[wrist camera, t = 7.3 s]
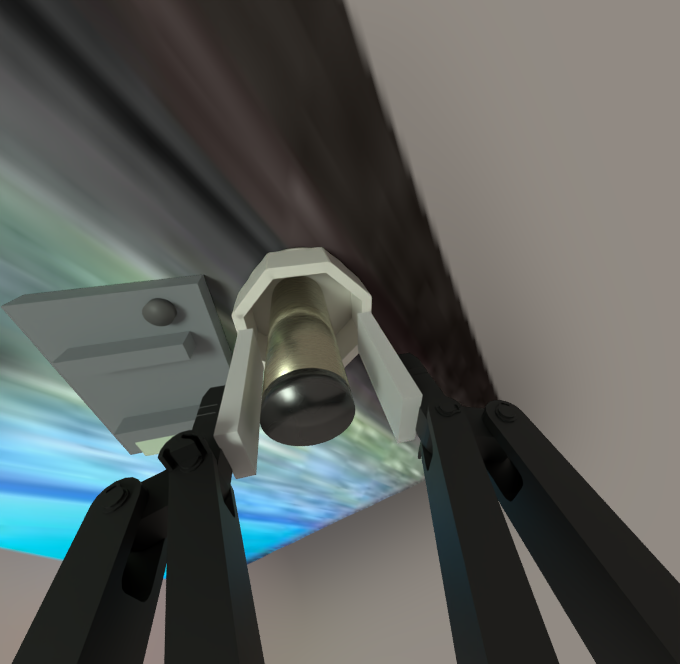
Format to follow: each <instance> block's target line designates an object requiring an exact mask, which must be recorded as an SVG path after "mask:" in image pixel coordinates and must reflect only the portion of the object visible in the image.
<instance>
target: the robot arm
mask: <svg viewBox="0 0 680 664" xmlns="http://www.w3.org/2000/svg"><path fill="white" fill-rule="evenodd" d="M357 316H358V352H359V355H360V357H361V359H362V361H363V364H364V366H365V368H366V371H367V373H368V375H369V378H370V380H371V382H372V385H373V387H374V389H375V392H376V394H377V396H378V399H379V401H380V403H381V406H382V408H383V410H384V413H385V415H386V417H387V420H388V422H389V424H390V427H391V429H392V431H393V434H394V436H395V438H396V441H397V443H401V442H406V441H410V440H415V434H416V432H417V434H418V436H419V438H420V440H421V442H420V447H419V451H418V459H421V457H422V463H423V469H424V474H425V480H426V485H427V492H428V498H429V503H430V509H431V515H432V520H433V527H434V532H435V538H436V544H437V550H438V556H439V561H440V567H441V573H442V579H443V584H444V590H445V596H446V601H447V607H448V613H449V619H450V625H451V631H452V637H453V643H454V648H455V654H456V660H457V664H559V662H558V659H557V656H556V654H555V651H554V648H553V646H552V643H551V640H550V638H549V635H548V632H547V630H546V627H545V624H544V622H543V619H542V616H541V614H540V611H539V608H538V606H537V603H536V600H535V598H534V595H533V592H532V590H531V587H530V585H529V582H528V579H527V576H526V574H525V571H524V568H523V566H522V563H521V560H520V558H519V555H518V552H517V550H516V547H515V545H514V542H513V539H512V536H511V534H510V531H509V528H508V526H507V523H506V520H505V518H504V515H503V512H502V510H501V507H500V504H501V506H502V507H503V509H504V511H505V512H506V514H507V516H508V517H509V519H510V521H511V522H512V524H513V526H514V527H515V529H516V531H517V532H518V534H519V536H520V537H521V539H522V541H523V542H524V544H525V546H526V547H527V549H528V551H529V552H530V554H531V556H532V557H533V559H534V561H535V562H536V564H537V566H538V567H539V569H540V571H541V572H542V574H543V576H544V577H545V579H546V580H547V582H548V584H549V586H550V587H551V589H552V591H553V592H554V594H555V595H556V597H557V599H558V600H559V602H560V604H561V606H562V607H563V609H564V611H565V612H566V614H567V616H568V617H569V619H570V620H571V622H572V624H573V625H574V627H575V629H576V630H577V632H578V634H579V635H580V637H581V639H582V640H583V642H584V644H585V645H586V647H587V649H588V650H589V652H590V654H591V655H592V657H593V659H594V660H595V662H596V664H680V583H679V582H678V581H677V580H676V579H675V578H674V577H673V576H672V575H671V574H670V573H669V571H668V570H667V569H666V568H665V567H664V566H663V565H662V564H661V563H660V562H659V560H657V558H656V557H655V556H654V555H653V554H652V553H651V552H650V551H649V549H648V548H647V547H646V546H645V545H644V544H643V543H642V542H641V541H640V540H639V539H638V537H637V536H636V535H635V534H634V533H633V532H632V531H631V530H630V529H629V528H628V527H627V525H626V524H625V523H624V522H623V521H622V520H621V519H620V518H619V517H618V516H617V515H616V514H615V512H614V511H613V510H612V509H611V508H610V507H609V506H608V505H607V504H606V502H604V500H603V499H602V498H601V497H600V496H599V495H598V494H597V493H596V492H595V490H594V489H593V488H592V487H591V486H590V485H589V484H588V483H587V482H586V481H585V480H584V478H583V477H582V476H581V475H580V474H579V473H578V472H577V471H576V470H575V469H574V468H573V466H572V465H571V464H570V463H569V462H568V461H567V460H566V459H565V458H564V457H563V455H562V454H561V453H560V452H559V451H558V450H557V449H556V448H555V447H554V446H553V445H552V443H551V442H550V441H549V440H548V439H547V438H546V437H545V436H544V435H543V434H542V433H541V431H539V429H538V428H537V427H536V426H535V425H534V424H533V423H532V422H531V421H530V419H529V418H528V417H527V416H526V415H525V414H524V413H523V412H522V411H521V410H520V409H519V408H518V407H516V406H515V405H513V404H511V403H509V402H506V401H502V400H493V401H491V402H489V403H488V404H487V405H486V407H485V409H484V408H471V407H464V406H461V404H459V403H458V402H457V401H456V400H454V399H452V398H449V397H446V396H445V395H444V394H443V392H442V391H441V389H440V388H439V387H438V385H437V384H436V383H435V381H434V380H433V378H432V377H431V376H430V374H429V373H428V372H427V370H426V369H425V367H423V365H422V363H421V362H420V360H419V359H418V358H417V357H415V356H414V355H412V354H411V353H406V354H400V355H397V353H396V352H395V350H394V349H393V347H392V345H391V344H390V342H389V341H388V339H387V337H386V336H385V334H384V333H383V331H382V330H381V328H380V326H379V325H378V323H377V322H376V320H375V318H374V317H373V315H372V314H371V312H363V313H357ZM263 371H264V365H263V362H262V358H261V355H260V351H259V348H258V344H257V341H256V337H255V333H254V330H253V328H252V329H245V330H239V331H238V335H237V339H236V344H235V348H234V352H233V356H232V360H231V365H230V369H229V373H228V377H227V381H226V385H223V386H217V387H211V388H210V389H209V390H208V391H207V392H206V393H205V395H204V396H203V397H202V400H201V403H200V406H199V409H198V412H197V417H196V419H195V422H194V425H193V428H192V430H187V431H183V432H180V433H179V434H177V435H175V436H173V437H172V438H171V439H169V440H168V441H167V442H166V443H165V444H164V446H163V447H162V448H161V450H160V452H159V455H158V459H159V460H160V461H161V463H162V464H163V465H164V467H165V468H166V470H165V471H163V472H161V473H159V474H157V475H155V476H153V477H151V478H148V479H146V480H144V481H142V482H140V481H139V480H138V479H136V478H133V477H130V478H124V479H121V480H118V481H116V482H114V483H113V484H111V485H110V486H108V487H107V488H105V489H104V490H103V491H102V492H101V493H100V494H99V495H98V496H97V497H96V499H95V500H94V502H93V503H92V505H91V506H90V508H89V510H88V512H87V514H86V516H85V518H84V520H83V522H82V524H81V526H80V528H79V530H78V532H77V534H76V536H75V538H74V540H73V542H72V544H71V546H70V548H69V550H68V552H67V554H66V556H65V558H64V560H63V562H62V564H61V566H60V568H59V570H58V572H57V574H56V576H55V578H54V580H53V582H52V584H51V586H50V588H49V590H48V592H47V594H46V596H45V598H44V600H43V602H42V604H41V606H40V608H39V610H38V612H37V614H36V616H35V618H34V620H33V622H32V624H31V626H30V628H29V630H28V632H27V634H26V636H25V638H24V640H23V642H22V644H21V646H20V648H19V650H18V652H17V654H16V656H15V658H14V660H13V662H12V664H143V661H144V657H145V653H146V648H147V644H148V640H149V635H150V631H151V627H152V622H153V619H154V614H155V610H156V606H157V602H158V597H159V593H160V589H161V585H162V580H163V576H164V572H165V568H166V563H167V573H166V615H165V616H166V617H165V657H164V664H265V663H264V657H263V652H262V646H261V640H260V635H259V630H258V624H257V618H256V613H255V607H254V602H253V596H252V590H251V585H250V580H249V574H248V568H247V563H246V557H245V552H244V546H243V540H242V535H241V529H240V524H239V518H238V513H237V507H236V502H235V496H234V491H233V488H232V486H231V477H232V472H233V474H234V476H235V478H236V479H239V478H243V477H248V476H252V475H256V469H257V455H258V441H259V427H260V412H261V399H262V385H263ZM498 501H499V502H500V504H499V502H498Z"/></svg>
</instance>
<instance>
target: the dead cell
mask: <svg viewBox="0 0 680 664" xmlns="http://www.w3.org/2000/svg"><path fill="white" fill-rule="evenodd" d="M354 415H355V405H354V401H353V397H352V394H351V390H350V387H349V383H348V380H347V376H346V373H345V369H344V365H343V362H342V358H341V355H340V351H339V348H338V344H337V341H336V337H335V334H334V330H333V326H332V323H331V319H330V316H329V312H328V309H327V305H326V302H325V298H324V295H323V291H322V289H321V287H320V286H319V285H318V283H317V282H315V281H314V280H313V279H311V278H309V277H306V276H294V277H287V278H284V279H283V280H281V281H280V282H279V283H278V284H277V285H276V286H275V288H274V290H273V293H272V299H271V309H270V319H269V330H268V340H267V350H266V361H265V371H264V381H263V392H262V402H261V412H260V424H261V427H262V429H263V431H264V432H265V434H266V435H268V436H269V437H270V438H271V439H273V440H275V441H277V442H279V443H282V444H286V445H291V446H310V445H316V444H320V443H323V442H326V441H328V440H331V439H333V438H335V437H336V436H338V435H340V434H341V433H342V432H344V431H345V430H346V429H347V428H348V426H349V425H350V424H351V422H352V421H353V418H354Z"/></svg>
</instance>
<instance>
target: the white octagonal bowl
mask: <svg viewBox="0 0 680 664" xmlns="http://www.w3.org/2000/svg"><path fill="white" fill-rule="evenodd" d="M294 276H306V277H309V278H311V279H313V280H314V281H315V282H317V283H318V285H319V286H320V287H321V289H322V291H323V295H324V298H325V302H326V305H327V309H328V312H329V316H330V319H331V323H332V326H333V330H334V334H335V337H336V341H337V344H338V348H339V351H340V355H341V358H342V362H343V365H344V367H345V366H346V365H347V364H348V363H350V362H351V361H352V360H353V359H354V358H355V357H356V356H357V355H358V354H359V352H358V316H357V313H363V312H371V303H372V297H371V295H370V293H369V292H368V291H367V289H366V288H365V286H364V285H363V284H362V282H361V281H360V279H359V278H358V277H357V276H356V275H355V274H353V273H352V272H351V271H350V270H349V269H347V268H346V267H345V265H344V264H343V263H342V262H340V261H339V260H338V259H337V258H335V257H334V256H332V255H331V254H330V253H329V252H327V251H326V250H325V249H324V248H322V247H318V248H308V247H294V248H288V249H284V250H281V251H278V252H270V253H269V254H268V253H267V255H266V256H265V257H264V259H263V260H262V261H261V263H260V264H258V266H257V267H256V268H255V269H254V270H253V272H252V273H251V275H250V277H249V279H248V281H247V282H246V283H245V285H244V286H243V287H242V289H241V290H240V291H239V293H238V296H237V299H236V303H235V306H234V309H233V312H232V319H233V322H234V325H235V328H236V331H237V334H238V331H239V330H245V329H252V328H253V330H254V333H255V337H256V341H257V344H258V348H259V351H260V355H261V358H262V362H263V365H264V370H265V361H266V350H267V340H268V330H269V319H270V309H271V299H272V293H273V290H274V288H275V286H276V285H277V284H278V283H279V282H280V281H281V280H283V279H284V278H287V277H294Z"/></svg>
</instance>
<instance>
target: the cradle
mask: <svg viewBox="0 0 680 664" xmlns="http://www.w3.org/2000/svg"><path fill="white" fill-rule="evenodd" d="M1 307H2V309H3V310H4V311H5V312H6V313H7V314H8V315H9V317H10V318H11V319H12V320H13V321H14V322H15V323H16V325H17V326H18V327H19V328H20V329H21V330H22V331H23V333H24V334H25V335H26V336H27V337H28V338H29V339H30V341H31V342H32V343H33V344H34V345H35V346H36V347H37V349H38V350H39V351H40V352H41V353H42V354H43V355H44V357H45V358H46V359H47V360H48V361H49V362H50V363H51V365H52V366H53V367H54V368H55V369H56V370H57V371H58V373H59V374H60V375H61V376H62V377H63V378H64V379H65V380H66V382H67V383H68V384H69V385H70V386H71V387H72V388H73V390H74V391H75V392H76V393H77V394H78V395H79V396H80V398H81V399H82V400H83V401H84V402H85V403H86V404H87V406H88V407H89V408H90V409H91V410H92V411H93V412H94V414H95V415H96V416H97V417H98V418H99V419H100V420H101V422H102V423H103V424H104V425H105V426H106V427H107V428H108V430H109V431H110V432H111V433H112V434H113V435H114V436H115V438H116V439H117V440H118V441H119V442H120V443H121V444H122V445H123V447H124V448H125V449H126V450H127V451H128V452H129V453H130V455H132V454H137V453H142V452H143V453H144V455H145V456H149V455H154V454H159V452H160V450H161V448H162V447H163V446H164V444H165V443H166V442H167V441H168V440H169V439H171V438H172V437H173V436H175V435H177V434H179V433H180V432H183V431H187V430H192V428H193V425H194V422H195V419H196V417H197V412H198V409H199V406H200V403H201V400H202V397H203V396H204V395H205V393H206V392H207V391H208V390H209V389H210V388H211V387H217V386H223V385H226V381H227V377H228V373H229V369H230V365H231V360H232V353H231V351H230V348H229V345H228V342H227V340H226V337H225V334H224V331H223V328H222V326H221V323H220V320H219V317H218V314H217V312H216V309H215V306H214V303H213V300H212V298H211V295H210V292H209V289H208V287H207V284H206V281H205V278H204V275H195V276H186V277H177V278H168V279H160V280H151V281H142V282H133V283H124V284H115V285H106V286H98V287H89V288H80V289H71V290H62V291H53V292H45V293H36V294H27V295H22V296H20V297H18V298H16V299H14V300H12V301H10V302H8V303H6V304H4V305H2V306H1Z"/></svg>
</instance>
